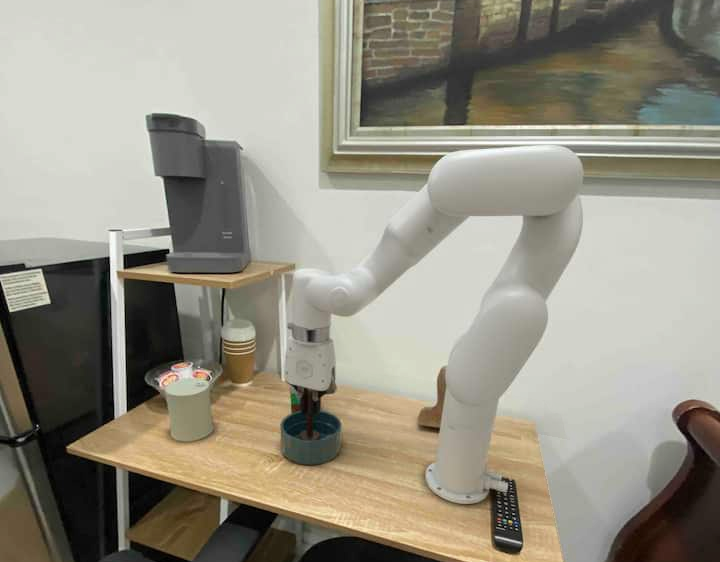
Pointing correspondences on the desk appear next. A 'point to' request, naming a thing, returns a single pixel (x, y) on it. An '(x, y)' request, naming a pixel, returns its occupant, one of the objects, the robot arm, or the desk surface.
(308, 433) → the brown peg stand
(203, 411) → the can
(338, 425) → the bowl
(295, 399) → the food container
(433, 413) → the brown wooden bookend
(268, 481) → the desk surface
